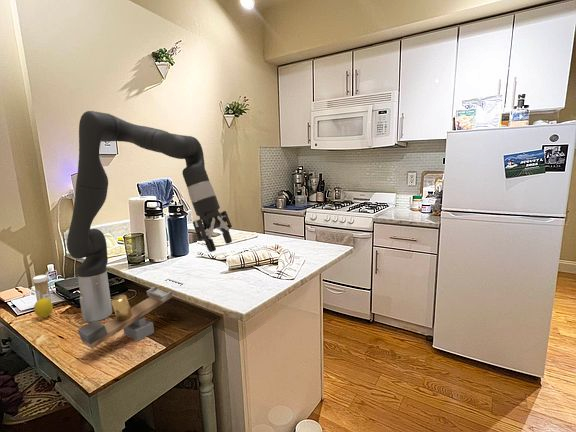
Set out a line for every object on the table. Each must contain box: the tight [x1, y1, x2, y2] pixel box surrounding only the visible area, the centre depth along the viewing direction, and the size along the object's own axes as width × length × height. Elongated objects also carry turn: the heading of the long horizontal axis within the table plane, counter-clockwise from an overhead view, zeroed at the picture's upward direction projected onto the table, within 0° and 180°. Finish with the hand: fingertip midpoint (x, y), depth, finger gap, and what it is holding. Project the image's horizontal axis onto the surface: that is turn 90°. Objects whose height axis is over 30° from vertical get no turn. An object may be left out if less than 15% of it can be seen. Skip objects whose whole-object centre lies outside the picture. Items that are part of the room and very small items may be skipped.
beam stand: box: [123, 315, 155, 342], centre depth 105 cm, size 6×8×6 cm
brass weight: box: [111, 294, 132, 322], centre depth 99 cm, size 4×4×7 cm
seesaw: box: [77, 278, 184, 349], centre depth 103 cm, size 33×9×4 cm, turn 146°
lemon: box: [33, 298, 54, 319], centre depth 116 cm, size 6×6×8 cm
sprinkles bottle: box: [32, 274, 52, 302], centre depth 124 cm, size 5×5×13 cm
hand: (221, 247), depth 97 cm, fingers open, 8 cm apart
